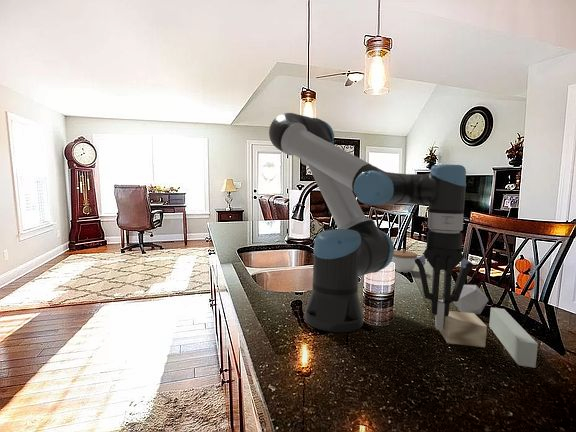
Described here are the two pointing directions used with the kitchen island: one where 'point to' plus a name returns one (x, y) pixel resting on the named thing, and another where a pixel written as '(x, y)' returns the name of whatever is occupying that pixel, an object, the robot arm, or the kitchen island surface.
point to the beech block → (464, 329)
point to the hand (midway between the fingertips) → (438, 327)
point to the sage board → (513, 337)
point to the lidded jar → (404, 261)
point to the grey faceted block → (471, 300)
